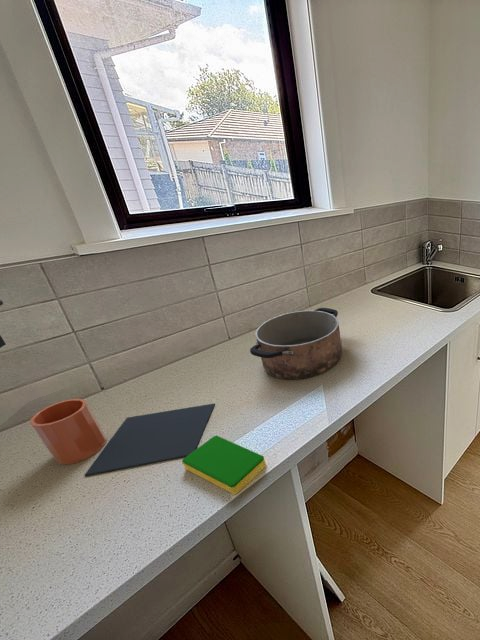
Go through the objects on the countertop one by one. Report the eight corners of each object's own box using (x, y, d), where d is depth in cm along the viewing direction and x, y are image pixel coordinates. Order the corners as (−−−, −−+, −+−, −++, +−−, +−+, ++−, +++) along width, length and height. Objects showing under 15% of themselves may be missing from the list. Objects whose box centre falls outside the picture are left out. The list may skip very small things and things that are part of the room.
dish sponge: (235, 495, 59) (231, 486, 58) (184, 469, 64) (180, 460, 63) (267, 465, 65) (264, 456, 64) (218, 443, 70) (215, 434, 69)
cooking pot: (300, 397, 84) (292, 361, 79) (234, 377, 91) (223, 343, 86) (362, 342, 109) (360, 312, 104) (307, 330, 116) (302, 301, 111)
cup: (46, 468, 64) (18, 429, 60) (71, 439, 71) (48, 402, 67) (93, 459, 66) (70, 421, 62) (114, 432, 73) (94, 395, 68)
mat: (85, 476, 63) (84, 474, 63) (127, 418, 77) (126, 417, 76) (193, 455, 67) (193, 453, 67) (215, 404, 81) (214, 403, 81)
